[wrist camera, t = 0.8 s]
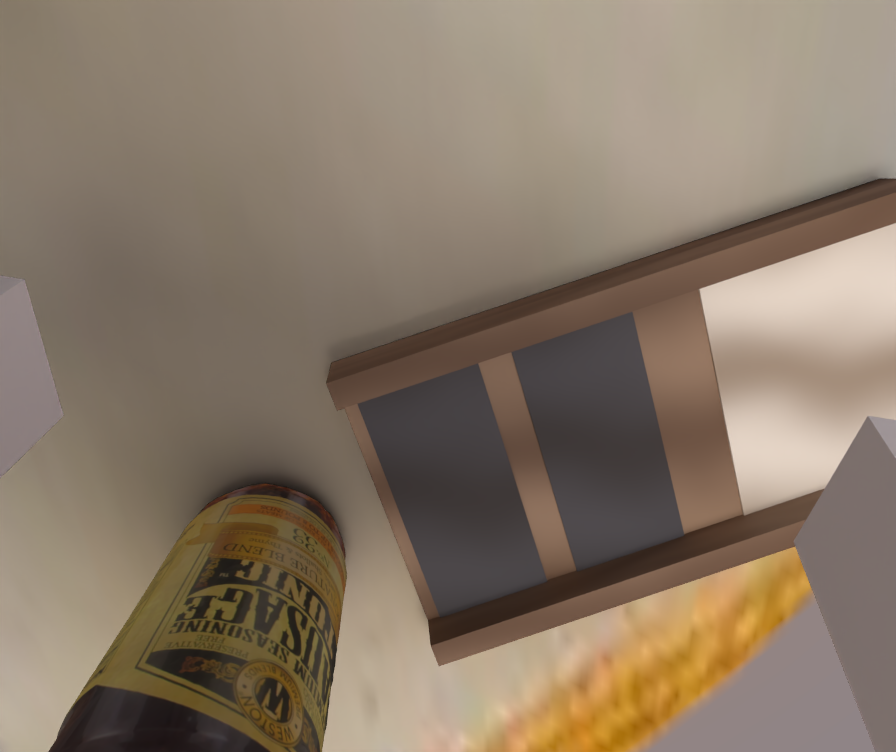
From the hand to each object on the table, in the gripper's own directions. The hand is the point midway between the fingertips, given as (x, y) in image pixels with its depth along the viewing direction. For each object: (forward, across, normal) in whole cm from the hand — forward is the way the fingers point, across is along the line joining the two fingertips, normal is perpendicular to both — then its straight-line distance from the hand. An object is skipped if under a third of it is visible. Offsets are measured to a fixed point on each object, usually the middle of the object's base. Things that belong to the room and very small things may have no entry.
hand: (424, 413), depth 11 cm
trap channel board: (+13, +7, -8) cm, 17 cm away
